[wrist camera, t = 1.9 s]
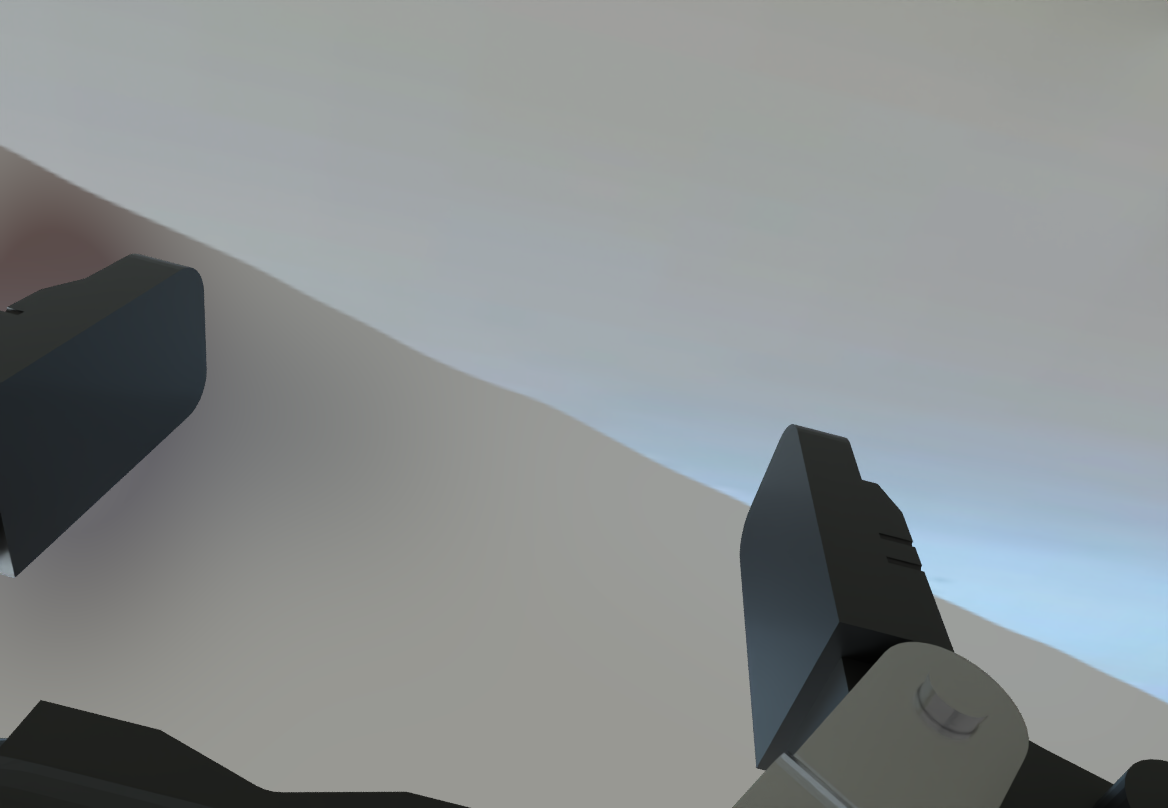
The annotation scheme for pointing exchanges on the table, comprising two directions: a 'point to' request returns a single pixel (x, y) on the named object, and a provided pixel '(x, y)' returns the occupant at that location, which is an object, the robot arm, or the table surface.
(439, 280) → the table surface
